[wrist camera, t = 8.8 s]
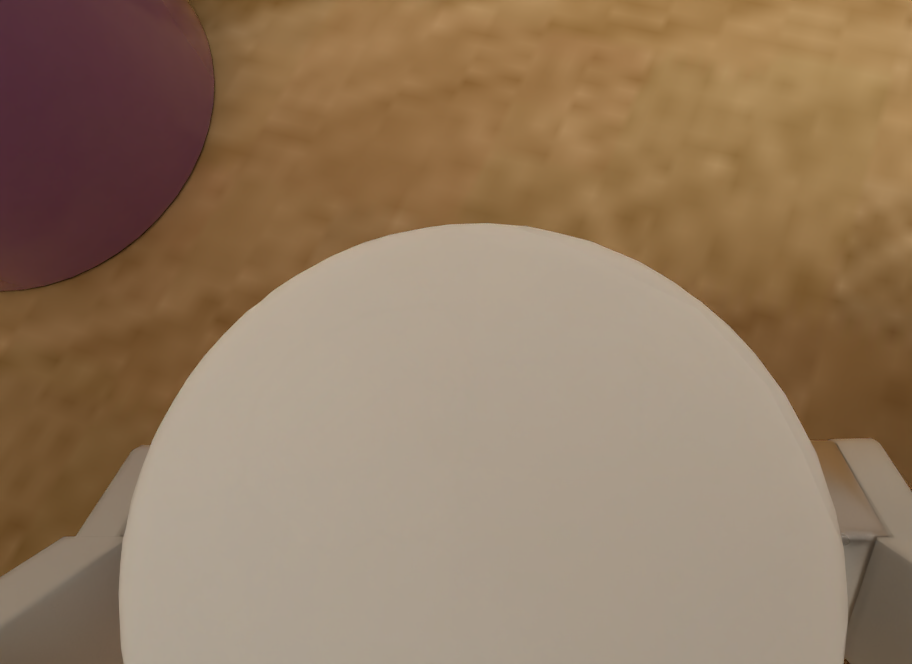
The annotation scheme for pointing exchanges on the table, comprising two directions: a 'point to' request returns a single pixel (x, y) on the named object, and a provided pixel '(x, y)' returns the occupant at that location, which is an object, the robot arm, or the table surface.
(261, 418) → the pill bottle
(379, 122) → the table surface
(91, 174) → the jar
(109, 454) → the table surface
